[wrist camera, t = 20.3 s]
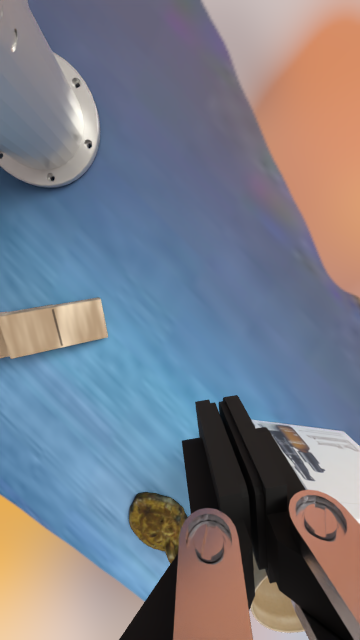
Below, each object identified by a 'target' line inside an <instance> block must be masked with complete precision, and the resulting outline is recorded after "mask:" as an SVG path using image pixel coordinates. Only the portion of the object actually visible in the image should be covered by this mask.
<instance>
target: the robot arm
mask: <svg viewBox="0 0 360 640" xmlns="http://www.w3.org/2000/svg"><path fill="white" fill-rule="evenodd" d="M77 86H80V87H79V88H77ZM99 142H100V122H99V115H98V111H97V108H96V104H95V102H94V99H93V97H92V94H91V92H90V90H89V89H88V87H87V85H86V83H85V81H84V80H83V79H82V77H81V76H80V75H79V73H78V72H77V71H76V70H75V69H74V68H73V67H72V66H71V65H70V64H69V63H68V62H67V61H66V60H65V59H63V58H61V57H60V56H58V55H57V54H55V53H54V52H52V50H51V49H50V47H49V45H48V43H47V41H46V39H45V37H44V35H43V33H42V32H41V30H40V28H39V26H38V24H37V22H36V20H35V18H34V16H33V15H32V13H31V11H30V9H29V5H28V1H27V0H0V166H1V167H2V168H3V169H4V170H5V171H7V172H8V173H10V174H11V175H13V176H14V177H16V178H17V179H19V180H21V181H23V182H25V183H28V184H31V185H34V186H38V187H46V188H52V187H60V186H64V185H67V184H70V183H72V182H73V181H75V180H77V179H78V178H80V177H81V176H82V175H83V174H84V173H85V172H86V171H87V170H88V168H89V167H90V166H91V164H92V162H93V160H94V158H95V156H96V154H97V150H98V146H99ZM89 145H92V148H90V149H89V148H88V146H89ZM2 155H3V157H2ZM53 177H55V180H54V181H52V178H53ZM195 403H196V412H197V420H198V428H199V436H200V438H195V439H189V440H183V441H182V446H183V454H184V462H185V470H186V478H187V486H188V494H189V501H190V509H191V515H190V516H189V517H188V518H187V519H186V520H185V522H184V524H183V526H182V528H181V531H180V536H179V550H178V554H177V555H176V557H175V558H174V560H173V561H172V563H171V564H170V566H169V567H168V569H167V570H166V572H165V573H164V575H163V576H162V577H161V579H160V580H159V582H158V583H157V585H156V586H155V588H154V589H153V591H152V592H151V594H150V595H149V597H148V598H147V600H146V601H145V602H144V604H143V606H142V607H141V608H140V610H139V611H138V613H137V614H136V616H135V617H134V619H133V620H132V622H131V623H130V624H129V626H128V627H127V629H126V630H125V632H124V633H123V635H122V636H121V638H120V639H119V640H253V636H252V629H251V622H250V616H249V609H250V607H251V605H252V602H253V600H254V597H255V584H254V566H253V554H254V557H255V561H256V564H257V566H258V569H259V570H262V569H265V571H266V574H267V577H268V580H269V583H275V582H276V583H277V586H278V589H279V591H280V592H282V593H283V594H284V595H286V596H287V597H288V598H290V599H291V602H292V605H293V607H294V610H295V612H296V614H297V616H298V618H299V620H300V622H301V624H302V626H303V628H304V630H305V632H306V634H307V636H308V638H309V640H360V524H359V523H358V522H357V520H356V519H355V518H354V517H353V516H352V515H351V514H350V513H349V512H348V510H347V509H346V508H345V507H344V506H343V505H342V504H340V503H339V502H338V501H337V500H336V499H334V498H333V497H331V496H329V495H328V494H326V493H323V492H320V491H316V490H306V489H305V487H304V486H303V484H302V482H301V481H300V479H299V478H298V476H297V474H296V473H295V471H294V470H293V468H292V466H291V465H290V463H289V462H288V460H287V458H286V457H285V455H284V454H283V452H282V450H281V449H280V447H279V446H278V444H277V442H276V441H275V439H274V438H273V436H272V434H271V433H270V431H269V430H268V428H266V427H261V428H255V426H254V424H253V422H252V420H251V419H250V417H249V415H248V413H247V411H246V410H245V408H244V406H243V404H242V402H241V401H240V399H239V397H238V396H237V395H235V396H229V397H224V398H223V401H222V402H219V412H220V414H219V412H218V409H217V406H216V404H215V403H210V401H209V400H204V401H198V402H195Z"/></svg>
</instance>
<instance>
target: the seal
mask: <svg viewBox="0 0 360 640" xmlns="http://www.w3.org/2000/svg"><path fill="white" fill-rule="evenodd" d="M187 518H188V517H187V515H186V514H185V512H184V509H183V507H182V506H180V505H179V504H178V503H177V502H176V501H175V500H174V499H172V498H170V497H167V496H163V495H159V494H156V493H148V492H144V493H140V494H137V496H136V497H135V499H134V502H133V504H132V505H131V506H130V512H129V523H130V526H131V529H132V530H133V532H134V533H135V534H136V535H137V536H138V537H139V539H140V540H141V541H142V542H144V543H145V544H146V545H148V546H149V547H152V548H154V549H158V550H161V551H165V552H166V555H167V558H168V560H169V562H170V563H172V561H173V560H174V558H175V557H176V555H177V554H178V550H179V536H180V531H181V528H182V526H183V524H184V522H185V520H186V519H187Z"/></svg>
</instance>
